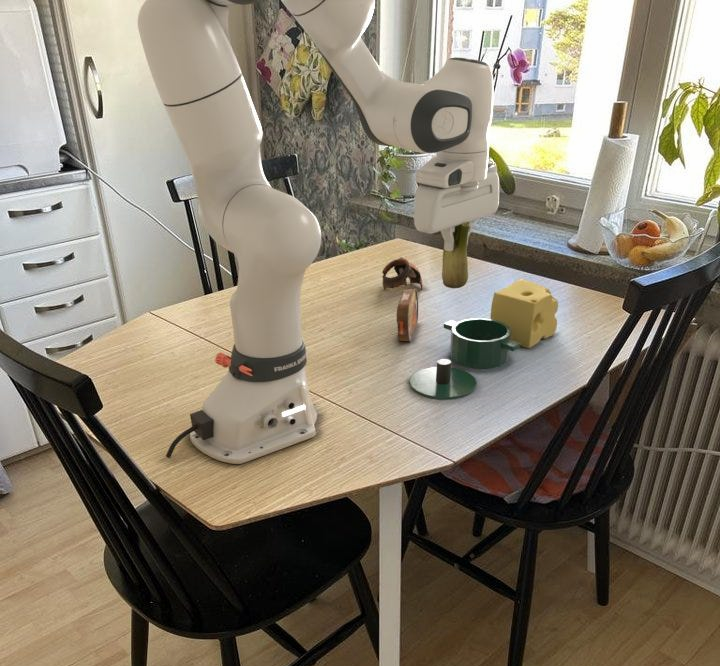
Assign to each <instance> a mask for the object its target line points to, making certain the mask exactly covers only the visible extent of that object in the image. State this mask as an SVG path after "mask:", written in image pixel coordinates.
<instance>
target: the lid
mask: <svg viewBox="0 0 720 666" xmlns="http://www.w3.org/2000/svg"><path fill="white" fill-rule="evenodd" d="M409 386H410V389H412V390H413V391H414V392H415V393H416V394H418V395H420V396H422V397H425V398H429V399H435V400H456V399H461V398H464V397H468V395H470V394H472V393H473V392H475V390H476V388H477V379H476V378H475V376H474V375H473V374H471V373H470V372H468V371H466V370H464V369H461V368H457V367H453V366H452V360H451V359H448V358H440V359H437V361H436V366H431V367H426V368H422V369H419V370H418V371H415V372H414V373H413V374H412V375H411V376H410V379H409Z"/></svg>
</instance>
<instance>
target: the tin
mask: <svg viewBox="0 0 720 666" xmlns="http://www.w3.org/2000/svg"><path fill="white" fill-rule="evenodd" d="M418 321H419V293H418V291H417V289H416V288H414V289H404V290H403V291H402V294H401V296H400V299H399V300H398V303H397V308H396V323H397V338H398V339H397V340H398V341H399V342H409V343H411V342H412V339H411V337H412V335H413V333H414V330H415V328H416V327H418Z"/></svg>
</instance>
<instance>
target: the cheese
mask: <svg viewBox="0 0 720 666" xmlns="http://www.w3.org/2000/svg"><path fill="white" fill-rule="evenodd" d="M558 310H559V301H558V299H557V298H555V297H554V296H553V295H552V292H551V290H550V289H549V288H548V287H546V286H543V285H541V284H538V283H535V282H533V281H529V280H525V279H521V278H519V279H517V280H515V281H514V282H512V283H511V284H509V285H508V286H506V287H504V288H502V289H499V290H497V291H495V292H494V293H493V296H492V301H491V307H490V317H489V319H493V320H496V321H500V322H503V323H504V324H506V325H507V326H509V327H510V330H511V340H513V341H516V342H519V343H521V344H520V347H523V348H526V349H531V348H533V346H535V345H537V344H539V343H540V341H541V339H542V340H543V339H544V340H545V339H548V338H550V337H552V336H554V335H555V334H556V331H557V328H558V318H556V314H557V312H558Z"/></svg>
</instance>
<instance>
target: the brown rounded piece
mask: <svg viewBox="0 0 720 666" xmlns="http://www.w3.org/2000/svg"><path fill="white" fill-rule="evenodd" d="M391 269H393V270H394V271H395V273H396V276H392V277H388V276H387V275H388V273H389V272H390V270H391ZM381 272H382V274H383V275H382V277H381V278H382V283H381V284H382V287H383V290H384V291H386V290H387V289H395V288H399V287H400V286H401V287H402V286H406V287H408V282H407V279H409V284H419V285H420V290H421V291H422V290H424V284H423V279H422V276H421V272H420V271H419V268H418V267H417V266H416V265H415V264H413V263H412V262H409V261H408V260H407V258H404V257H398V258H396V259H393V260H391V261H390V262H388V263H387V264H386V265H385V267H384V268H383V269H382V271H381Z"/></svg>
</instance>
